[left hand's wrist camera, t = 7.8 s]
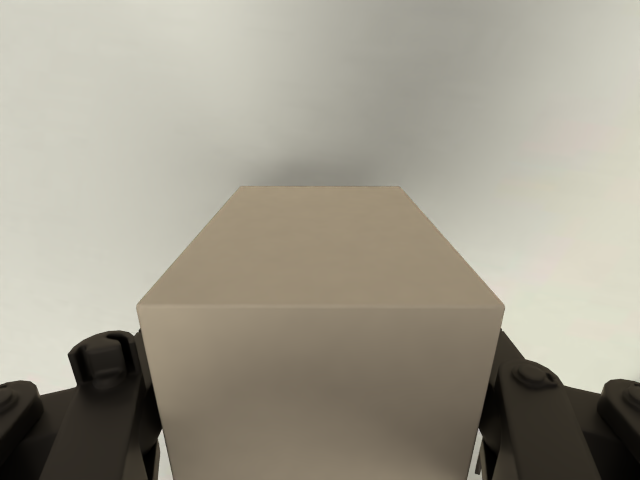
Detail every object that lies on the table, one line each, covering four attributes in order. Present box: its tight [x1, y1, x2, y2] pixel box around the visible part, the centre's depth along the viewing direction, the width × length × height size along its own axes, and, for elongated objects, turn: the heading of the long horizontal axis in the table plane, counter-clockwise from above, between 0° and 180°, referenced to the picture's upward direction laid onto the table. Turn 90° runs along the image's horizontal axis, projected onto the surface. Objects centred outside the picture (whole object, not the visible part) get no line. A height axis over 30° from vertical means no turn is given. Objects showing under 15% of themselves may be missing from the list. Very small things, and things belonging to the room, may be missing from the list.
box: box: [136, 186, 505, 480], centre depth 14 cm, size 20×6×8 cm, turn 0°
